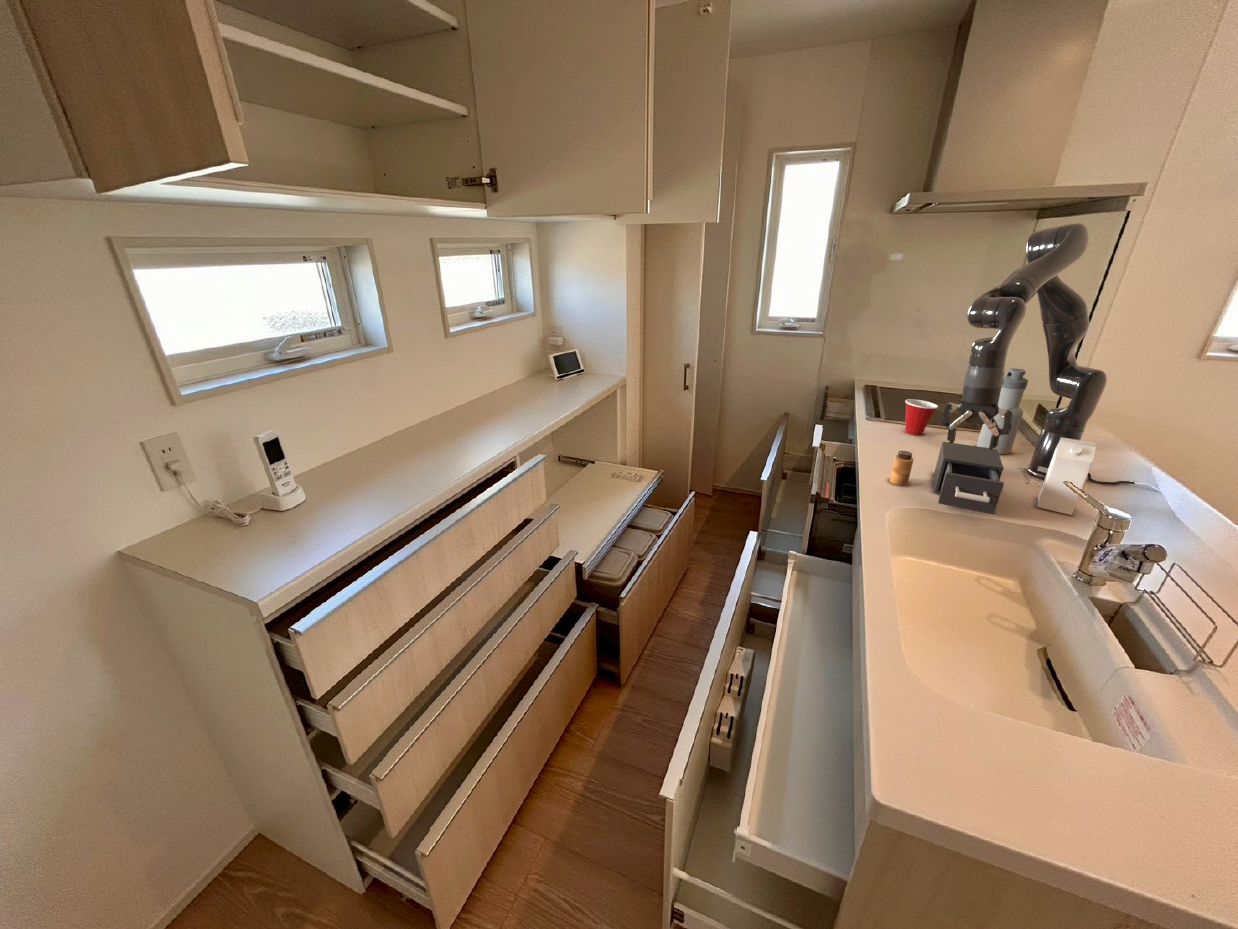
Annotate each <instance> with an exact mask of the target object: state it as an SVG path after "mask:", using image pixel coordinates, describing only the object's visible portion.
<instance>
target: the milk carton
mask: <svg viewBox="0 0 1238 929" xmlns="http://www.w3.org/2000/svg"><path fill="white" fill-rule="evenodd" d="M1097 446H1098V443H1097V442H1092V441H1086V440H1074V439H1068V438H1062V437H1061V439H1060V441H1059V443H1058V445H1057V447H1056V449H1055V452H1054V455H1053V458H1052V460H1051V463H1050V466H1049V469H1048V471H1047V474H1046V477H1045V479H1043V483H1042V486H1041V488H1040V491H1039V494H1038V496H1037V508H1040V509H1043V510H1047V511H1053V512H1056V513H1061V514H1065V515H1069V516H1072V515H1073V513H1074V511H1075V509H1076V505H1077V503H1078V500H1079V498H1080V495H1079V496H1078V494H1076V493H1074V492H1073V491H1072V490H1071V489H1070V488H1069V487H1067V486H1066V485H1065V484H1064V483H1063V482H1064V481H1068V482H1072V483H1073V485H1075V486H1076V487H1078V488H1079V489H1081V491H1083V487H1084V485H1085V483H1086V480H1087V479H1088V473H1090V470H1091V467H1092V465H1093V462H1094V458H1095V454H1096V452H1097V451H1096V450H1097Z"/></svg>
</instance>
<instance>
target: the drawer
mask: <svg viewBox="0 0 1238 929" xmlns="http://www.w3.org/2000/svg"><path fill="white" fill-rule="evenodd" d="M940 485H941V492H940V494H939V496H938V500H937V504H939V505H945V506H948V507H955V508H958V509H959V508H960V509H966V510H969V511H975V512H981V513H985V514H990V515H995V513H996V509H997V506H998V503H999V500H1000V497H1001V494H1002V492H1003V487H1004V485H1005V483H1004V481H1002V480H1000V481H999V478H998V474H997V471H996V469H990V468H984V467H978V466H971V465H965V464H959V463H953V462H946V464H945V468H944V472H943V475H942V479H941V483H940Z"/></svg>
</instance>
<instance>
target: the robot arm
mask: <svg viewBox="0 0 1238 929" xmlns="http://www.w3.org/2000/svg"><path fill="white" fill-rule="evenodd" d="M1089 243H1090V231H1089V229H1088V227H1087V225H1086V224H1084V223H1081V222H1072V223H1067V224H1062V225H1058V226H1057V225H1056V226H1052V227H1047V228H1043V229H1039V230H1036V231H1034V232H1032V233H1031V234H1030V235H1029V237H1028V238H1027V240H1026V245H1025V254H1026V260H1027V263H1025V264H1024V265H1022V266H1021V267H1019V268H1018V269H1016V270H1015V271H1013V272H1012V273H1011V274H1010V275H1008V277H1007V278H1006V279H1005V280H1003V282H1002V283H1001V284H1000V285H998V286H995V287H994V288H991V290H988V291H987V292H984V293H983V294H981V295H979V296H978V297H977V298H976V299H975V300H974V301H973V302H972V303H971V305H970V306H969V308H968V311H967V314H966V316H967V322H968V323H969V325H971V327H974V328H977V329H991V330H992V329H994V330H998V332H997V333H996V334H995V336H991V337H983V338H979V339H976V340H974V341H973V342H972V344H971V349H970V354H969V359H968V365H967V368H966V371H965V376H964V381H963V387H962V392H961V393H962V394H961V400H960V403H959V404H958V403H954V402H953V401H948V402H947V403H946V404H945V405H944V409H943V412H942V418H941V422H940V425H941V426H942V427H946V428H947V429H948V431H947V437H946V440H947V442H949V443H952V444H953V443H955V441H956V436H957V430H958V428H957V427H958V426H959V425H960V424H962V423H963V422H966V424H975V425H981V426H982V425H983V424H986V426H987V427H988V428H989V429H990V430H991V432H992V433H993V435H992V436H991V441H990V446H989V449H990V450H993V449H994V448H996V447H997V445H998V442H999V438H1000V435H1007V434H1009V432H1010V431H1011V426H1012V419H1013V411H1014V410H1013V409H1012V408H1009V409H999V407H998V403H999V398H1000V393H1001V388H1002V383H1003V381H1004V379H1003V378H1004V377H1005V365H1006V360H1007V356H1008V350H1009V347H1010V345H1011V343H1012V341H1013V338H1014V337H1015V336H1014V335H1015V334H1016V332H1017V330H1018V329H1019V326H1020V325H1021V323H1022V321H1023V320H1024V317H1025V315H1026V312H1027V304H1028V303H1029V302H1030V300H1031V299H1032V298H1033V297H1034V296H1035V295H1036V294H1037V299H1038V305H1039V310H1040V318H1041V323H1042V330H1043V333H1044V338H1045V343H1046V350H1047V356H1048V358H1047V360H1048V380H1049V388H1050V390H1051V392H1052V393H1053V394H1055V395H1056V396H1059V397H1063V398H1067V399H1070V401H1069V403H1068V405H1067V406H1065V407H1053V408H1050V409H1048V411H1047V413H1046V415H1045V418H1044V422H1043V426H1042V428H1041V430H1040V433H1039V437H1038V440H1037V442H1036V446H1035V448H1034V450H1033V454H1032V457H1031V459H1030V462H1029V464H1028V467H1027V470H1026V472H1027V473H1028V474H1029V475H1031V476H1033V477H1036V478H1039V479H1043V480H1045V477H1046V474H1047V471H1048V469H1049V466H1050V463H1051V460H1052V458H1053V455H1054V452H1055V449H1056V447H1057V445H1058V443H1059V441H1060V439H1061V437H1062V438H1068V439H1074V440H1080V441H1082V437H1083V434H1084V432H1085V430H1086V426H1087V424H1088V422H1089V420H1090V419H1091V417H1092V416H1093V415H1094V413H1095V411H1096V409H1097V406H1098V404H1099V402H1100V400H1101V398H1102V395H1103V393H1104V392H1105V390H1106V386H1107V383H1108V382H1107V381H1108V375H1107V374H1106V372H1105V371H1104V370H1101V369H1098V368H1093V367H1090V366H1089V367H1088V366H1083V365H1079V364H1078V362H1077V360H1076V353H1075V352H1076V351H1075V350H1076V348H1077V346H1078V345H1079V343H1080V342H1081V341H1082V340H1083V338H1084V337H1085V336H1086V334H1087V332H1088V331H1089V328H1090V315H1089V308H1088V304H1087V302H1086V300H1085V299H1084V297H1083V296H1082V295H1081V294H1080V293H1078V292H1077V291H1076V290H1075V289H1074V288H1072V287H1071V286H1070V285H1068V284H1067V283H1066V282H1065V281H1063V279H1062V278H1060V276H1059V275H1060V274H1061V273H1062V272H1063V271H1065V270H1066V269H1068V268H1069V267H1071V266H1072V265H1073V264H1075V263H1077V262H1078V261H1079V260H1080V259H1082V258H1083V256H1084V255H1085V254H1086V252H1087V250H1088V247H1089ZM956 410H957V412H958V413H959V414H960V415H959V417H958V418H957V419H955V420H954V421H950V419H951V415H952V413H954V412H955V411H956ZM997 414H1000V415H1001V417H1002V418H1003V419H1004V426H1003V428H1002V429H1000V427H999V426H998V425H997V422H996V420H995V419H994V417H995V416H996V415H997ZM1087 481H1089V482H1091V483H1095V484H1099V485H1110V486H1111V485H1112V486H1113V485H1114V486H1116V485H1119V484H1127V485H1136V484H1135V483H1134V482H1135V481H1133V482H1130V481H1131V480H1117V481H1101V480H1095V479H1093V478H1092V474H1091V473H1090V472H1089V473H1088V475H1087Z"/></svg>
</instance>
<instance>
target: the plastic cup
mask: <svg viewBox="0 0 1238 929" xmlns="http://www.w3.org/2000/svg"><path fill="white" fill-rule="evenodd" d="M904 401H905V419H904V420H905V422H904V423H905V424H904V426H905V427H904V428H905V433H906V434H908V435H912V436H922V435H923V434H924V432H925V430H926V428H927V426H928V425H929V422H930V420H931V418H932V416H933V414H934V412H935V411H936V409H938V407H939V406H938V404H935V402H934V403H933V402H930V401H926V400H922V399H913V398H908V399H905V400H904Z"/></svg>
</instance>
